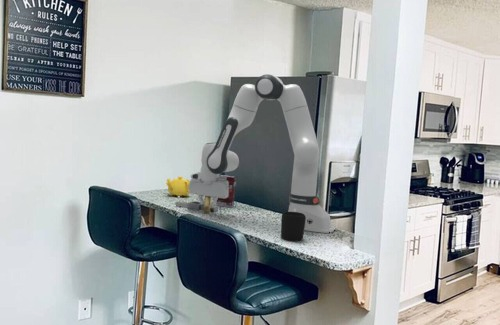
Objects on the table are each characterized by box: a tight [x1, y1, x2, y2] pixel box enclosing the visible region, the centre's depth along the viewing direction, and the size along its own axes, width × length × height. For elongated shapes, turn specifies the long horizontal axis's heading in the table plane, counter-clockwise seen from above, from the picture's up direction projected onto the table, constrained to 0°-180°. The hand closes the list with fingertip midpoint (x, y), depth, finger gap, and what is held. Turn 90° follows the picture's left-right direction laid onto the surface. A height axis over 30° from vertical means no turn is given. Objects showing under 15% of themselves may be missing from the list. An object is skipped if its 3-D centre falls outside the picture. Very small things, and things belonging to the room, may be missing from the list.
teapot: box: [165, 176, 190, 197], centre depth 278 cm, size 14×14×11 cm
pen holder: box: [280, 211, 306, 242], centre depth 194 cm, size 9×9×10 cm
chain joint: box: [174, 200, 219, 214], centre depth 243 cm, size 22×6×3 cm, turn 65°
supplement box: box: [215, 174, 237, 208], centre depth 257 cm, size 9×5×16 cm, turn 76°
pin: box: [203, 196, 212, 214], centre depth 234 cm, size 3×3×8 cm
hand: (207, 205), depth 234 cm, fingers open, 4 cm apart
